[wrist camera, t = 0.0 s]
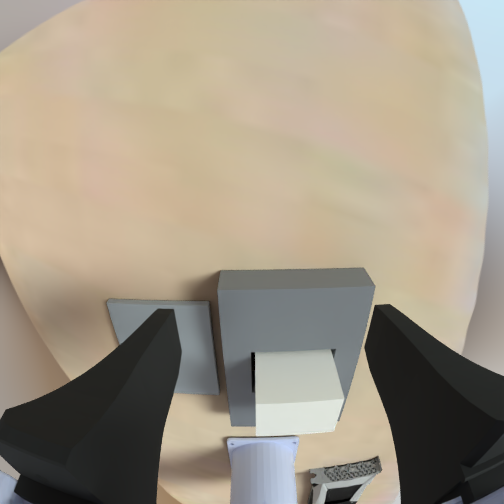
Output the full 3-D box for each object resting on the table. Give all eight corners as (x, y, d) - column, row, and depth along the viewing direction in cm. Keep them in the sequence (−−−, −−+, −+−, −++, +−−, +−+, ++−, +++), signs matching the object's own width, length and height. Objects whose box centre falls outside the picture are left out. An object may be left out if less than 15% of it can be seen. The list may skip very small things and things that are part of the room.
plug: (319, 365, 25) (333, 431, 19) (255, 367, 25) (256, 436, 19) (325, 330, 24) (344, 398, 17) (254, 332, 24) (255, 404, 17)
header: (334, 401, 28) (339, 421, 25) (232, 405, 28) (231, 426, 25) (363, 267, 21) (375, 285, 19) (220, 270, 21) (217, 290, 19)
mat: (219, 390, 27) (219, 394, 26) (137, 384, 27) (136, 389, 26) (209, 301, 22) (208, 305, 22) (109, 298, 22) (106, 303, 22)
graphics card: (382, 471, 31) (350, 516, 42) (377, 452, 34) (348, 503, 45) (310, 483, 32) (300, 523, 42) (308, 463, 35) (299, 509, 45)
